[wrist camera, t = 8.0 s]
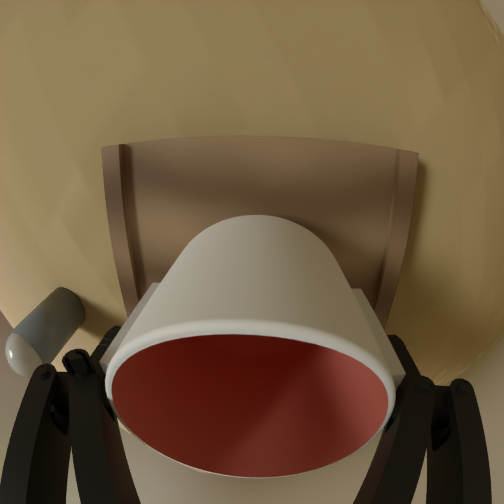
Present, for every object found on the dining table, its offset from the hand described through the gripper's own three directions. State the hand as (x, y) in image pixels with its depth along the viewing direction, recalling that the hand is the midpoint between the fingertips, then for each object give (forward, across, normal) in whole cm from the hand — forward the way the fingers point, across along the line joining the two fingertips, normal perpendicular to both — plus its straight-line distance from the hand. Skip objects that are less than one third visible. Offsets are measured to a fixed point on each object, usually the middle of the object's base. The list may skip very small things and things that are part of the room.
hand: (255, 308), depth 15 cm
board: (+4, 0, 0) cm, 4 cm away
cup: (+2, 0, 0) cm, 2 cm away
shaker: (+4, -17, -4) cm, 18 cm away
